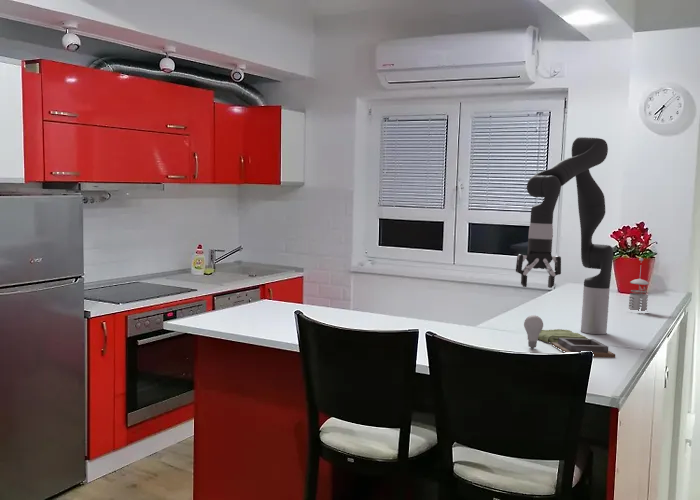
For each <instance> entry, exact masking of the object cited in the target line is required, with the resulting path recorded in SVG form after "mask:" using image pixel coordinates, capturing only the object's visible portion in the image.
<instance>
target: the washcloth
mask: <svg viewBox="0 0 700 500" xmlns="http://www.w3.org/2000/svg"><path fill="white" fill-rule="evenodd" d="M558 338H579V339H589V338H588V337H587V336H585V335H583V334H581V333H579V332H573V331H572V330H570V329H562V328H561V329H560V328H558V329H542V330H541V332H540V333H539V336H538V339H539V341H541V340H542V342H543V341H545V342H544V343H546V342H548V343H547V344H550V343H549V342H556V343H558Z"/></svg>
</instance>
